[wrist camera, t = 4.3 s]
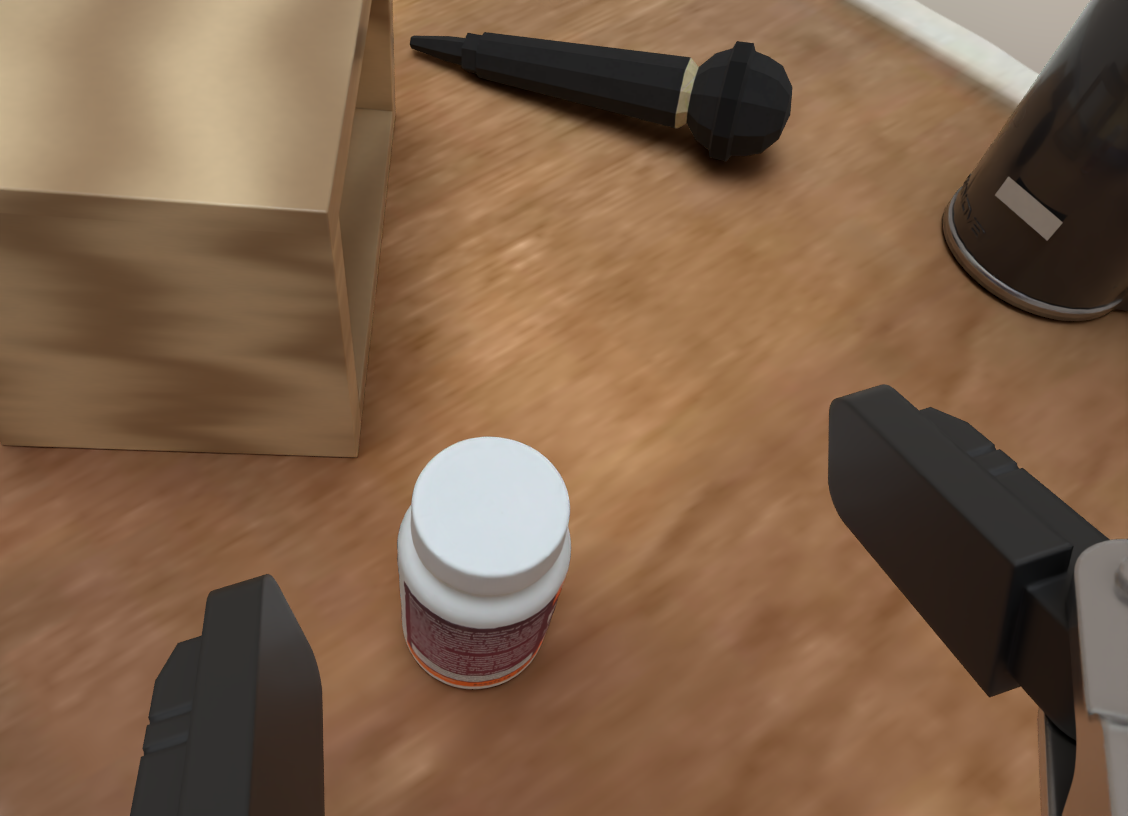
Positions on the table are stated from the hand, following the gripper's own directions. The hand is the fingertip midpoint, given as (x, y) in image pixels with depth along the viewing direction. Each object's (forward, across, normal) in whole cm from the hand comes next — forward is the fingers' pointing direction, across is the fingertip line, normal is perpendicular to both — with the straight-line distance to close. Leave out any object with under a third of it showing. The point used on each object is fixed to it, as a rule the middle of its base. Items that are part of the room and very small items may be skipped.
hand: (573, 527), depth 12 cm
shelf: (+27, -8, -4) cm, 29 cm away
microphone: (+36, +10, -4) cm, 37 cm away
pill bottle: (+11, -3, -13) cm, 17 cm away
